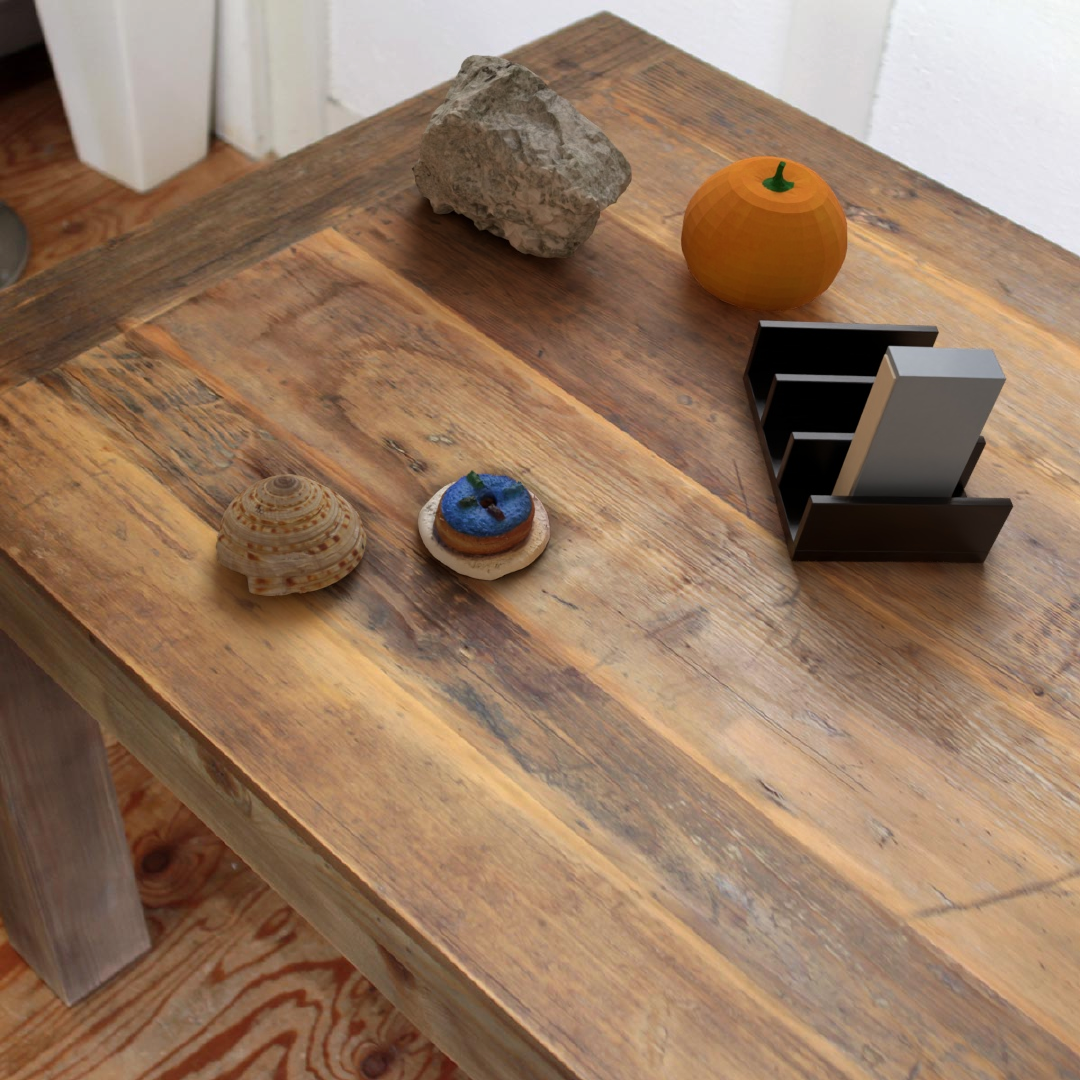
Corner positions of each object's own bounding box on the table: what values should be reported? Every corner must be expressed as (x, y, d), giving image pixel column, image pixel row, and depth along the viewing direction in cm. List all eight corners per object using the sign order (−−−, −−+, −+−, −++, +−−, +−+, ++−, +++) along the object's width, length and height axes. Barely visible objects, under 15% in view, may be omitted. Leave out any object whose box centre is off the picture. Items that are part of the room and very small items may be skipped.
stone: (576, 237, 88) (389, 126, 90) (570, 317, 100) (404, 218, 102) (652, 131, 90) (467, 24, 92) (636, 221, 102) (473, 125, 104)
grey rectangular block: (935, 529, 80) (1006, 379, 72) (837, 528, 80) (897, 375, 71) (924, 499, 82) (992, 348, 73) (828, 498, 81) (885, 345, 73)
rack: (913, 383, 91) (936, 325, 88) (984, 563, 80) (1014, 506, 77) (742, 378, 90) (758, 319, 86) (791, 561, 79) (812, 503, 75)
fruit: (844, 338, 94) (885, 217, 86) (679, 326, 93) (706, 203, 85) (818, 239, 102) (854, 121, 94) (666, 227, 101) (690, 107, 93)
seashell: (191, 577, 71) (226, 440, 73) (212, 607, 76) (244, 478, 79) (343, 601, 71) (373, 464, 73) (354, 630, 76) (381, 500, 79)
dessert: (469, 596, 74) (444, 494, 72) (411, 579, 79) (387, 484, 77) (582, 549, 78) (562, 451, 76) (520, 536, 83) (500, 444, 81)
